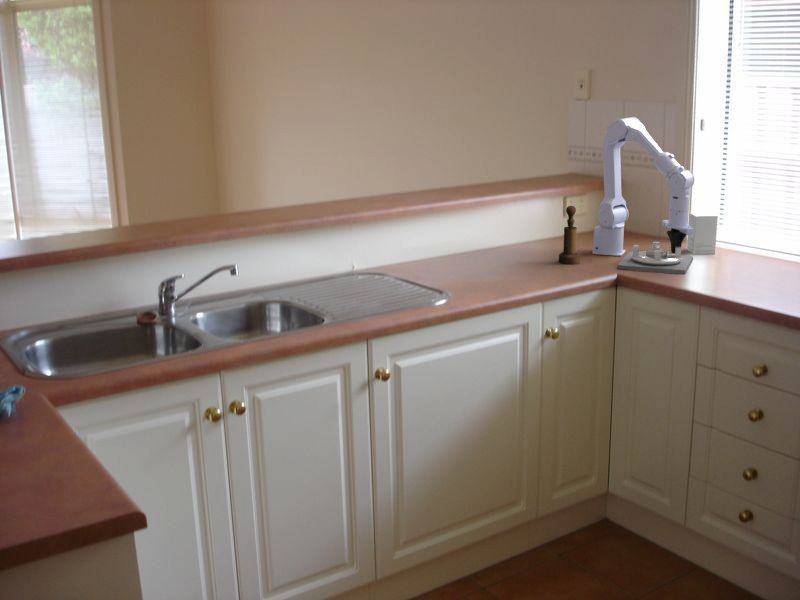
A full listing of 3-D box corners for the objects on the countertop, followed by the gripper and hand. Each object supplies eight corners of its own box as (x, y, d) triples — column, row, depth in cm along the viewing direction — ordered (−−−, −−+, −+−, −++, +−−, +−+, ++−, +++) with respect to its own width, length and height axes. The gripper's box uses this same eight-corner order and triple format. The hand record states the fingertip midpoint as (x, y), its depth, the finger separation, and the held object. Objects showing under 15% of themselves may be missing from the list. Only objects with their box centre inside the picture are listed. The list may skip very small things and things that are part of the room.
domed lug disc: (631, 264, 289) (632, 250, 288) (631, 253, 303) (631, 240, 302) (682, 266, 286) (683, 252, 285) (679, 255, 300) (680, 242, 299)
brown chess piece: (579, 259, 303) (581, 204, 298) (580, 264, 296) (582, 207, 291) (558, 259, 303) (559, 204, 298) (559, 264, 297) (561, 207, 292)
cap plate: (617, 268, 290) (617, 264, 290) (629, 255, 308) (629, 251, 307) (685, 274, 282) (685, 269, 282) (693, 259, 300) (693, 255, 300)
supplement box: (715, 254, 308) (718, 215, 304) (692, 254, 308) (695, 216, 304) (708, 249, 315) (711, 211, 311) (686, 249, 315) (689, 211, 312)
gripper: (654, 206, 297) (652, 249, 300) (680, 215, 283) (676, 259, 287) (674, 205, 298) (671, 247, 302) (700, 213, 285) (697, 257, 289)
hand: (675, 253), depth 295 cm, fingers closed, pressing on domed lug disc
